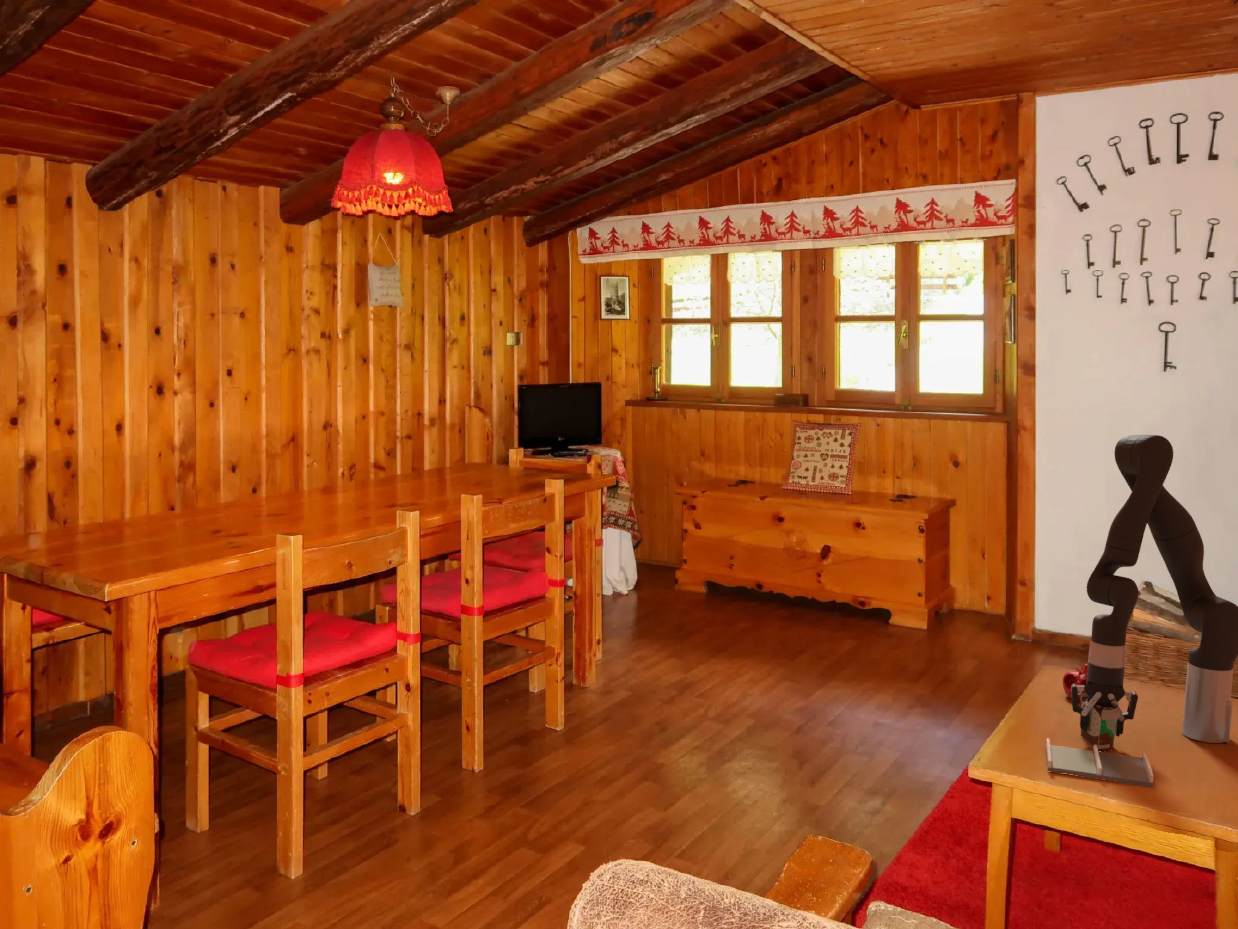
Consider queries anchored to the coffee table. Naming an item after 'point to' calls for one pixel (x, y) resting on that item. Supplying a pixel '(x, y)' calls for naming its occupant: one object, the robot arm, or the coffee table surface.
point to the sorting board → (1100, 765)
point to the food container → (1100, 725)
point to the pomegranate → (1075, 680)
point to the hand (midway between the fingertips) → (1100, 732)
